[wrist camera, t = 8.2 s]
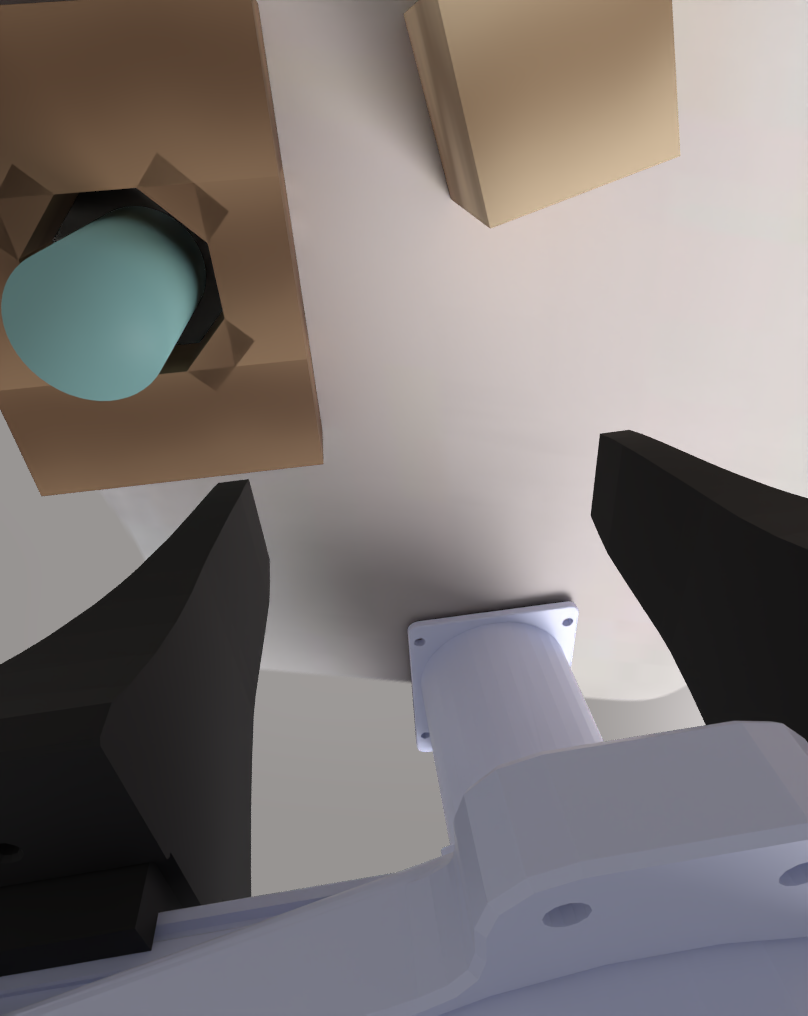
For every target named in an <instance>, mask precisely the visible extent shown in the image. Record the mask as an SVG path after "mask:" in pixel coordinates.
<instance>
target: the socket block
mask: <svg viewBox="0 0 808 1016" xmlns="http://www.w3.org/2000/svg"><path fill="white" fill-rule="evenodd" d="M127 188H137V189H139V190H140V191H141V192H143V193H144V194H145V195H146V196H148V197H149V198H150V199H152V200H153V201H154V202H155V203H157V204H158V205H159V206H160V207H162V208H163V209H164V210H166V211H167V212H168V213H169V214H171V215H172V216H173V217H175V218H176V219H177V220H178V221H180V222H181V223H182V224H184V225H185V226H186V227H187V228H189V229H190V230H191V231H193V232H194V233H195V234H196V235H198V236H199V237H200V238H202V239H203V240H204V241H205V242H207V243H208V247H209V252H210V256H211V261H212V265H213V269H214V274H215V278H216V283H217V287H218V291H219V296H220V300H221V305H222V309H223V311H222V312H221V314H220V315H219V316H218V318H217V319H216V321H215V322H214V323H213V325H212V326H211V328H210V329H209V330H208V332H207V333H206V335H205V336H204V338H203V339H202V340H201V342H200V343H194V344H183V345H175V346H174V348H173V350H172V352H171V353H170V355H169V357H168V359H167V360H166V362H165V364H164V366H163V368H162V369H161V371H160V373H159V374H158V376H157V377H156V378H155V380H154V381H153V382H152V383H151V384H150V385H149V386H147V387H146V388H145V389H144V390H142V391H140V392H138V393H137V394H135V395H132V396H130V397H127V398H123V399H119V400H112V401H96V400H88V399H83V398H79V397H76V396H72V395H69V394H67V393H65V392H62V391H60V390H58V389H56V388H55V387H53V386H51V385H49V384H48V383H46V382H45V381H44V380H42V379H41V378H39V377H38V376H37V375H36V374H35V373H34V372H32V371H31V370H30V369H29V368H28V367H27V365H26V364H25V363H24V362H23V361H22V360H21V358H20V357H19V356H18V355H17V353H16V351H15V350H14V348H13V347H12V345H11V343H10V341H9V339H8V336H7V334H6V331H5V328H4V325H3V319H2V312H1V302H2V294H3V291H4V287H5V284H6V282H7V280H8V278H9V276H10V275H11V273H12V272H13V271H14V269H15V268H16V267H17V266H18V265H19V264H20V263H21V262H23V261H24V260H26V259H27V258H29V257H30V256H32V255H34V254H35V253H37V252H39V251H41V250H43V249H44V248H46V247H48V246H50V245H52V244H53V241H52V240H53V239H54V237H55V235H56V233H57V231H58V230H59V228H60V226H61V224H62V223H63V221H64V219H65V217H66V215H67V214H68V212H69V210H70V208H71V206H72V205H73V203H74V201H75V199H76V197H77V196H78V194H79V192H90V191H102V190H115V189H127ZM0 410H1V412H2V414H3V416H4V418H5V420H6V422H7V424H8V426H9V428H10V431H11V433H12V435H13V437H14V439H15V441H16V443H17V445H18V447H19V450H20V452H21V454H22V456H23V458H24V460H25V462H26V464H27V467H28V469H29V471H30V473H31V475H32V477H33V479H34V481H35V483H36V485H37V488H38V490H39V492H40V494H41V496H48V495H57V494H66V493H75V492H83V491H92V490H101V489H110V488H119V487H127V486H136V485H145V484H154V483H162V482H171V481H180V480H189V479H197V478H206V477H215V476H224V475H232V474H241V473H250V472H258V471H267V470H276V469H285V468H293V467H302V466H311V465H320V464H323V439H322V425H321V419H320V412H319V405H318V399H317V392H316V385H315V379H314V372H313V366H312V359H311V352H310V346H309V339H308V332H307V326H306V319H305V313H304V306H303V299H302V293H301V286H300V280H299V273H298V266H297V260H296V253H295V246H294V240H293V233H292V227H291V220H290V213H289V207H288V200H287V193H286V187H285V180H284V174H283V167H282V160H281V154H280V147H279V141H278V134H277V127H276V121H275V114H274V107H273V101H272V94H271V88H270V81H269V74H268V68H267V61H266V54H265V48H264V41H263V35H262V28H261V21H260V15H259V8H258V3H257V2H256V0H76V1H60V2H43V3H26V4H10V5H0Z"/></svg>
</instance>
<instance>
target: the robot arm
mask: <svg viewBox="0 0 808 1016" xmlns="http://www.w3.org/2000/svg"><path fill="white" fill-rule="evenodd" d="M591 517H592V520H593V522H594V524H595V527H596V529H597V531H598V534H599V536H600V538H601V540H602V542H603V545H604V547H605V549H606V551H607V553H608V555H609V556H610V558H611V560H612V561H613V563H614V564H615V566H616V567H617V569H618V571H619V572H620V574H621V575H622V577H623V578H624V580H625V581H626V583H627V585H628V586H629V588H630V589H631V591H632V592H633V594H634V595H635V597H636V598H637V600H638V601H639V603H640V604H641V606H642V607H643V609H644V610H645V612H646V613H647V615H648V616H649V618H650V620H651V621H652V623H653V624H654V626H655V627H656V629H657V630H658V632H659V633H660V635H661V637H662V638H663V640H664V642H665V643H666V645H667V647H668V648H669V650H670V652H671V654H672V656H673V658H674V660H675V662H676V664H677V666H678V668H679V670H680V672H681V674H682V676H683V678H684V680H685V682H686V684H687V686H688V688H689V690H690V692H691V694H692V696H693V698H694V700H695V702H696V705H697V707H698V709H699V711H700V713H701V715H702V717H703V720H704V722H705V724H706V725H704V726H698V727H693V728H686V729H679V730H673V731H667V732H661V733H654V734H649V735H642V736H636V737H629V738H623V739H617V740H611V741H605V742H604V741H603V738H602V736H601V734H600V732H599V730H598V727H597V725H596V723H595V721H594V719H593V716H592V714H591V712H590V710H589V708H588V706H587V703H586V701H585V699H584V696H583V694H582V692H581V690H580V688H579V685H578V683H577V681H576V679H575V677H574V674H573V672H572V670H571V664H572V657H573V650H574V643H575V636H576V628H577V621H578V614H579V610H578V608H577V606H576V604H575V603H573V602H570V601H567V602H559V603H552V604H544V605H537V606H529V607H522V608H514V609H507V610H499V611H492V612H484V613H477V614H469V615H462V616H455V617H447V618H440V619H432V620H425V621H417V622H414V623H412V624H411V625H410V626H409V627H408V643H409V655H410V668H411V681H412V693H413V706H414V718H415V731H416V743H417V748H418V750H419V751H422V752H430V751H433V754H434V760H435V765H436V771H437V776H438V782H439V787H440V793H441V798H442V803H443V809H444V814H445V819H446V825H447V830H448V836H449V841H450V845H449V846H446V847H444V848H442V849H441V853H442V856H440V857H438V858H435V859H432V860H429V861H427V862H424V863H421V864H419V865H415V866H413V867H410V868H407V869H404V870H402V871H399V872H396V873H390V874H384V875H378V876H372V877H367V878H361V879H355V880H349V881H343V882H337V883H331V884H325V885H320V886H313V887H308V888H302V889H296V890H290V891H284V892H278V893H272V894H266V895H260V896H254V897H251V781H252V780H251V779H252V778H251V777H252V745H253V716H254V706H255V696H256V689H257V682H258V675H259V669H260V662H261V655H262V649H263V642H264V635H265V629H266V622H267V615H268V607H269V591H270V559H269V555H268V552H267V548H266V544H265V540H264V536H263V532H262V528H261V524H260V521H259V517H258V513H257V509H256V505H255V501H254V497H253V494H252V490H251V486H250V482H249V479H247V480H239V481H231V482H223V483H218V484H217V485H216V486H215V487H214V488H213V489H212V490H211V491H210V492H209V493H208V495H207V496H206V497H205V498H204V499H203V500H202V501H201V503H200V504H199V505H198V506H197V507H196V508H195V510H194V511H193V512H192V513H191V514H190V515H189V516H188V517H187V519H186V520H185V521H184V522H183V523H182V524H181V525H180V526H179V527H178V528H177V530H176V531H175V532H174V533H173V534H172V535H171V536H170V537H169V538H168V539H167V540H166V541H165V542H164V543H163V544H162V545H161V546H160V547H159V548H158V549H157V550H156V551H155V552H154V553H153V554H152V555H151V556H150V557H149V558H148V559H147V560H146V561H145V562H144V563H143V564H142V565H141V566H140V567H139V568H138V569H137V570H135V572H133V573H132V574H131V575H130V576H129V577H128V578H127V579H125V580H124V581H123V582H122V583H121V584H119V585H118V586H117V587H116V588H114V589H113V590H112V591H111V592H109V593H108V594H107V595H106V596H105V597H103V598H102V599H101V600H100V601H98V602H97V603H96V604H94V605H93V606H92V607H90V608H89V609H87V610H86V611H84V612H83V613H81V614H80V615H79V616H77V617H76V618H74V619H73V620H71V621H70V622H68V623H67V624H66V625H64V626H63V627H61V628H60V629H58V630H57V631H55V632H54V633H52V634H51V635H49V636H48V637H46V638H45V639H43V640H41V641H40V642H38V643H37V644H35V645H33V646H31V647H30V648H28V649H27V650H25V651H23V652H22V653H20V654H18V655H16V656H15V657H13V658H11V659H9V660H7V661H6V662H4V663H2V664H0V1016H808V498H805V497H801V496H798V495H795V494H791V493H788V492H785V491H782V490H779V489H776V488H773V487H770V486H767V485H765V484H762V483H759V482H756V481H754V480H751V479H748V478H746V477H743V476H740V475H738V474H735V473H733V472H730V471H728V470H725V469H723V468H720V467H718V466H716V465H713V464H711V463H709V462H706V461H704V460H702V459H699V458H697V457H695V456H692V455H690V454H688V453H685V452H683V451H681V450H679V449H676V448H674V447H672V446H669V445H667V444H665V443H663V442H660V441H658V440H655V439H653V438H651V437H648V436H645V435H643V434H640V433H637V432H634V431H631V430H625V431H617V432H610V433H602V434H600V439H599V447H598V456H597V465H596V474H595V482H594V491H593V500H592V509H591ZM567 618H568V619H567ZM565 619H567V620H565ZM419 638H423V639H421V640H416V639H419Z"/></svg>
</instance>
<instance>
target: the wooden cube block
mask: <svg viewBox="0 0 808 1016" xmlns="http://www.w3.org/2000/svg"><path fill="white" fill-rule="evenodd" d="M403 15H404V18H405V22H406V26H407V30H408V34H409V38H410V42H411V46H412V49H413V53H414V57H415V61H416V65H417V69H418V73H419V77H420V80H421V84H422V88H423V92H424V96H425V100H426V104H427V108H428V112H429V115H430V119H431V123H432V127H433V131H434V135H435V139H436V143H437V146H438V150H439V154H440V158H441V162H442V166H443V170H444V174H445V177H446V181H447V185H448V189H449V193H450V197H451V199H452V200H453V201H454V202H456V203H457V204H458V205H460V206H461V207H462V208H464V209H465V210H466V211H467V212H469V213H470V214H471V215H473V216H474V217H475V218H477V219H478V220H479V221H481V222H482V223H483V224H485V225H486V226H487V227H489V228H493V227H496V226H498V225H501V224H504V223H506V222H509V221H511V220H514V219H517V218H519V217H522V216H524V215H527V214H530V213H532V212H535V211H538V210H540V209H543V208H545V207H548V206H551V205H553V204H556V203H558V202H561V201H564V200H566V199H569V198H571V197H574V196H577V195H579V194H582V193H585V192H587V191H590V190H592V189H595V188H598V187H600V186H603V185H605V184H608V183H611V182H613V181H616V180H619V179H621V178H624V177H626V176H629V175H632V174H634V173H637V172H639V171H642V170H645V169H647V168H650V167H653V166H655V165H658V164H660V163H663V162H666V161H668V160H671V159H673V158H676V157H679V156H680V142H679V123H678V105H677V86H676V68H675V49H674V31H673V12H672V0H419V1H418V2H416V3H415V4H414V5H413V6H412V7H411V8H410V9H408V10H407V11H406V12H405V13H404V14H403Z"/></svg>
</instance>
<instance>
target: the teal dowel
mask: <svg viewBox="0 0 808 1016" xmlns="http://www.w3.org/2000/svg"><path fill="white" fill-rule="evenodd" d="M205 283H206V270H205V264H204V260H203V257H202V254H201V251H200V249H199V247H198V245H197V244H196V242H195V240H194V239H193V237H192V236H191V235H190V234H189V232H188V231H187V230H186V229H185V228H184V227H183V226H182V225H181V224H180V223H178V222H177V221H176V220H174V219H173V218H171V217H170V216H168V215H166V214H165V213H162V212H160V211H158V210H155V209H151V208H147V207H141V206H129V207H123V208H119V209H116V210H114V211H112V212H109V213H108V214H106V215H104V216H102V217H100V218H99V219H97V220H95V221H93V222H91V223H90V224H88V225H86V226H84V227H82V228H81V229H79V230H77V231H75V232H73V233H72V234H70V235H68V236H66V237H64V238H63V239H61V240H59V241H57V242H55V243H54V244H52V245H50V246H48V247H46V248H44V249H43V250H41V251H39V252H37V253H35V254H34V255H32V256H30V257H29V258H27V259H26V260H24V261H23V262H21V263H20V264H19V265H18V266H17V267H16V268H15V269H14V271H13V272H12V273H11V275H10V276H9V278H8V280H7V282H6V284H5V287H4V291H3V294H2V302H1V312H2V319H3V325H4V328H5V331H6V334H7V336H8V339H9V341H10V343H11V345H12V347H13V348H14V350H15V351H16V353H17V355H18V356H19V357H20V358H21V360H22V361H23V362H24V363H25V364H26V365H27V367H28V368H29V369H30V370H31V371H32V372H34V373H35V374H36V375H37V376H38V377H39V378H41V379H42V380H44V381H45V382H46V383H48V384H49V385H51V386H53V387H55V388H56V389H58V390H60V391H62V392H65V393H67V394H69V395H72V396H76V397H79V398H83V399H88V400H96V401H112V400H119V399H123V398H127V397H130V396H132V395H135V394H137V393H138V392H140V391H142V390H144V389H145V388H146V387H147V386H149V385H150V384H151V383H152V382H153V381H154V380H155V378H156V377H157V376H158V374H159V373H160V371H161V369H162V368H163V366H164V364H165V362H166V360H167V359H168V357H169V355H170V353H171V352H172V350H173V348H174V346H175V344H176V343H177V341H178V339H179V337H180V336H181V334H182V332H183V330H184V328H185V327H186V325H187V323H188V321H189V320H190V318H191V316H192V314H193V312H194V311H195V309H196V307H197V305H198V304H199V302H200V300H201V298H202V295H203V293H204V289H205Z"/></svg>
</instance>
